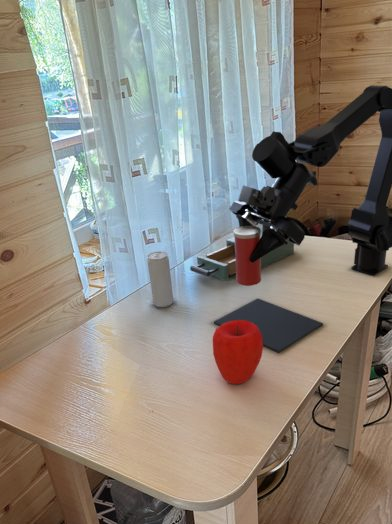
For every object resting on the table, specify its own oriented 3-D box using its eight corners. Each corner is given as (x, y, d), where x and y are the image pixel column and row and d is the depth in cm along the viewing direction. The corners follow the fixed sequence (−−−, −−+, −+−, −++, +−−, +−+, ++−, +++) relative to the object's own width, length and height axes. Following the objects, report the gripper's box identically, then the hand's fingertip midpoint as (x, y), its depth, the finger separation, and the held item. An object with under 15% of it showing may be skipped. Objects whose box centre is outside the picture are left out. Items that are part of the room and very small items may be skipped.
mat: (323, 325, 106) (323, 323, 106) (278, 353, 98) (278, 351, 98) (257, 300, 118) (257, 298, 117) (213, 323, 110) (213, 321, 110)
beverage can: (177, 300, 121) (171, 252, 115) (167, 309, 117) (161, 260, 111) (159, 297, 123) (153, 250, 117) (149, 306, 119) (142, 258, 113)
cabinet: (257, 269, 132) (257, 249, 129) (227, 259, 139) (226, 240, 136) (293, 252, 140) (294, 232, 137) (263, 243, 147) (262, 224, 144)
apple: (262, 394, 88) (261, 340, 82) (211, 392, 90) (207, 339, 84) (264, 365, 95) (264, 314, 90) (218, 363, 97) (214, 313, 91)
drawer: (212, 286, 124) (211, 272, 122) (185, 276, 130) (184, 262, 128) (261, 263, 133) (261, 249, 131) (234, 254, 140) (233, 241, 138)
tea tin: (262, 274, 110) (261, 225, 105) (261, 285, 106) (260, 234, 100) (236, 275, 111) (234, 226, 105) (235, 286, 107) (232, 235, 101)
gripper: (234, 160, 105) (193, 226, 107) (294, 176, 91) (245, 251, 93) (265, 191, 113) (226, 251, 114) (325, 210, 99) (279, 278, 100)
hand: (242, 257), depth 105 cm, fingers closed on tea tin, 5 cm apart
